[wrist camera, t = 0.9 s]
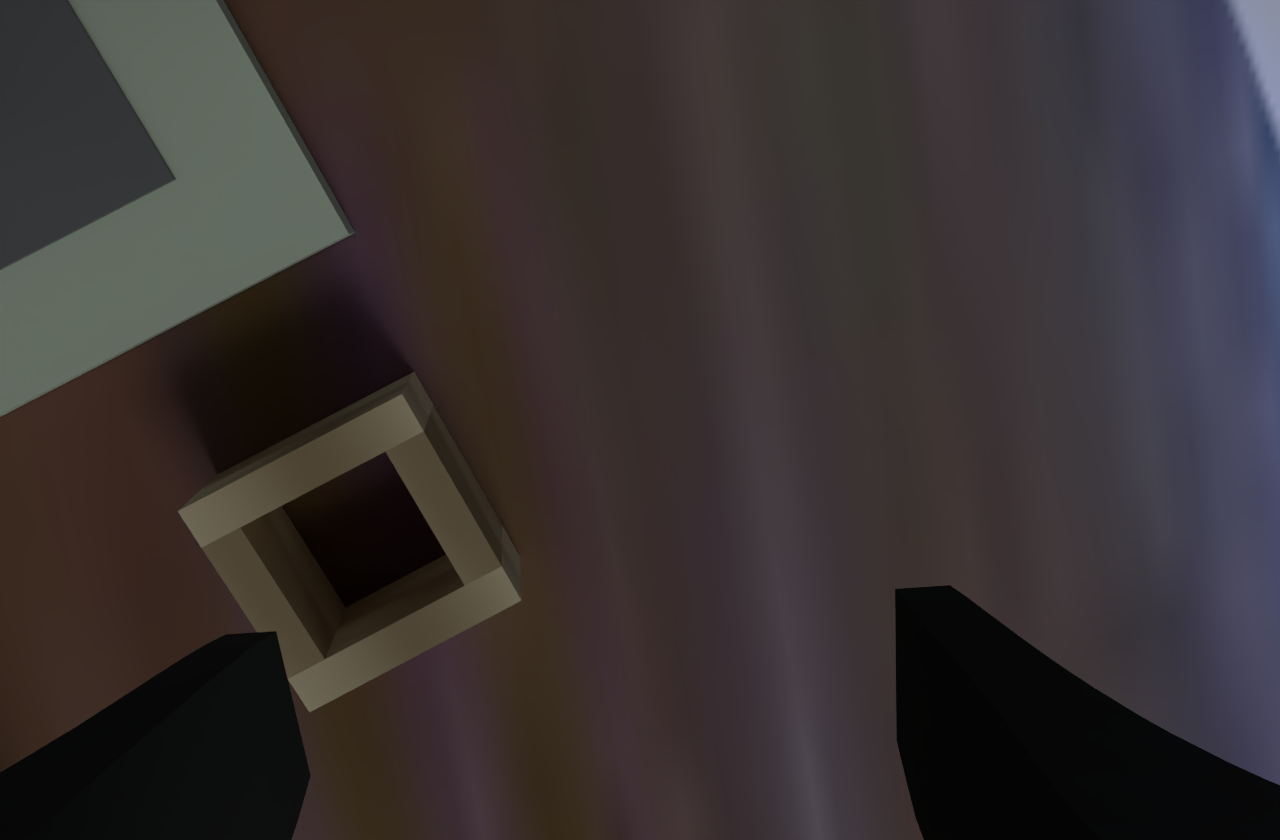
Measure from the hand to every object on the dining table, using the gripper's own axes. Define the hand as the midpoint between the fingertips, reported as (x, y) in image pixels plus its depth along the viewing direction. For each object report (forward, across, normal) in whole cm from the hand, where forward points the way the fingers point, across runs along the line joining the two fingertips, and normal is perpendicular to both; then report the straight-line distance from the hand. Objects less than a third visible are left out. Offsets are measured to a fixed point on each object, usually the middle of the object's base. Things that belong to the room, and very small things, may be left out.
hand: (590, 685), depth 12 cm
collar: (+12, +6, +3) cm, 14 cm away
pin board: (+12, +14, -7) cm, 20 cm away
